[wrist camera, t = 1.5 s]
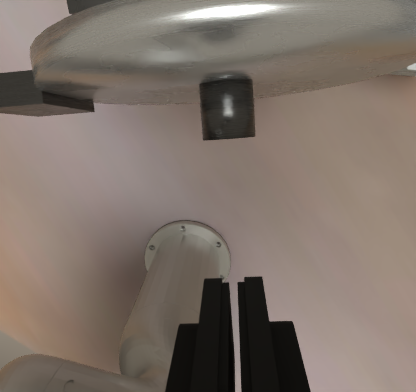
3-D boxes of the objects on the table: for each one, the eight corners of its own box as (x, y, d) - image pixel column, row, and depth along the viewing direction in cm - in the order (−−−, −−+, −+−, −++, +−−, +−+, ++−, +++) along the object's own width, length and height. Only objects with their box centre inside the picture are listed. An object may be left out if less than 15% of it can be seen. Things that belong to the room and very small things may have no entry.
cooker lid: (344, 75, 26) (344, 128, 27) (79, 99, 28) (85, 147, 29) (615, -67, 8) (590, 115, 8) (-220, 32, 10) (-179, 172, 10)
